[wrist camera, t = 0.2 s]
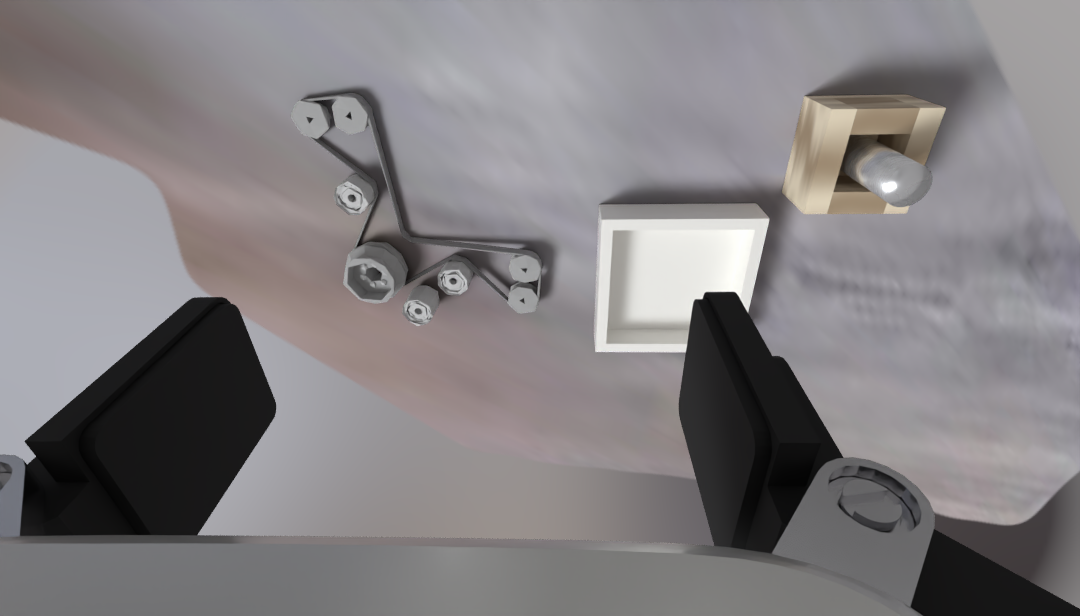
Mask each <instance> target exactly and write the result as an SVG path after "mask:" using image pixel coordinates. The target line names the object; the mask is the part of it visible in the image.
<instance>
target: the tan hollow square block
mask: <svg viewBox="0 0 1080 616" xmlns="http://www.w3.org/2000/svg"><path fill="white" fill-rule="evenodd" d="M945 110H946V108H945V107H942V106H940V105H937V104H934V103H931V102H928V101H925V100H922V99H919V98H916V97H913V96H910V95H907V94H906V95H840V96H804V100H803V104H802V108H801V112H800V117H799V121H798V125H797V130H796V134H795V138H794V142H793V147H792V151H791V155H790V159H789V164H788V168H787V172H786V176H785V181H784V185H783V189H782V193H783V194H784V195H785V196H786V197H787V198H788V199H789V200H790V201H791V202H792V203H793V204H794V205H795V206H796V207H797V208H798V209H799V210H800V211H801V212H802V213H803V214H897V213H907V211H908V208H909V206H906V207H895V206H892V205H890V204H889V203H887V202H886V201H884V200H883V199H881V198H880V197H878V196H877V195H876V194H874V193H873V192H871V191H870V190H868V189H867V188H865V187H864V186H863V185H861V184H860V183H858V182H857V181H855V180H854V179H852V178H851V177H849V176H848V175H847V174H845V173H844V172H842V171H841V170H840V167H841V164H842V160H843V157H844V153H845V150H846V146H847V143H848V139H849V136H850V135H863V134H864V135H866V136H868V137H870V138H872V139H874V140H875V141H877V142H879V143H881V144H883V145H885V146H887V147H889V148H891V149H893V150H895V151H897V152H899V153H901V154H902V155H904V156H906V157H908V158H910V159H912V160H914V161H916V162H918V163H920V164H922V165H924V166H925V163H926V160H927V158H928V155H929V152H930V150H931V147H932V144H933V142H934V139H935V136H936V134H937V131H938V128H939V126H940V123H941V120H942V118H943V115H944V113H945Z"/></svg>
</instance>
